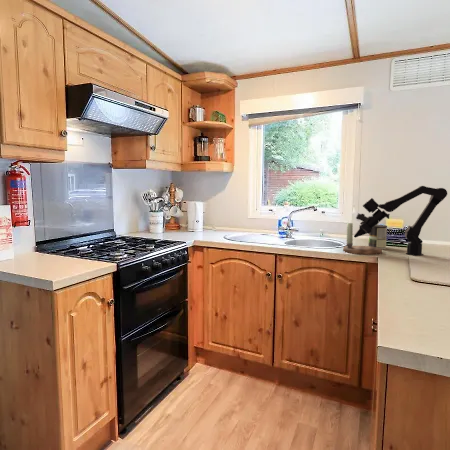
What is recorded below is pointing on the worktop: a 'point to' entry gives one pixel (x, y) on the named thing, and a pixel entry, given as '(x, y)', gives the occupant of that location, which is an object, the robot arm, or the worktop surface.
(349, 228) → the folding leg
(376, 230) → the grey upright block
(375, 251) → the stool seat
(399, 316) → the worktop surface
